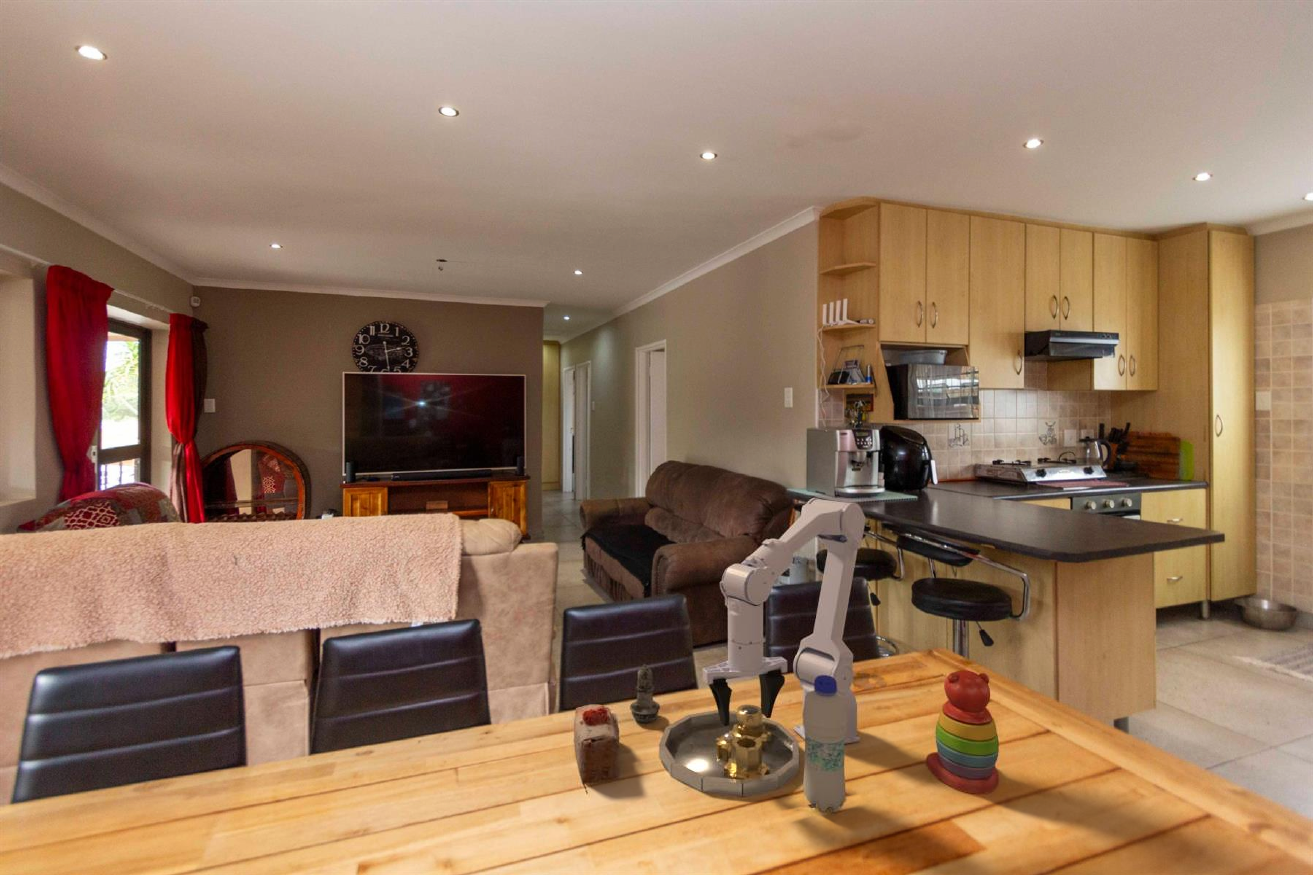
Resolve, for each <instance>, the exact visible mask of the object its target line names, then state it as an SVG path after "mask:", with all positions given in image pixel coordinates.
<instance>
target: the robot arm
mask: <svg viewBox="0 0 1313 875" xmlns="http://www.w3.org/2000/svg"><path fill="white" fill-rule="evenodd" d="M865 526H866V516H865V514H864V512H863V509H862V508H861V506H860V505H859V503H856V502H843V501H837V500H836V501H835V500H828V499H827V500H826V499H820V498H818V497H813V498H810V499H809V500H808V501H807V503H806V504H804V505H802V507H801V512H800V516H798V518H797V519H796V520H795V521H794V522H793V524H792V525H790V527H789V528H788V529H787V530H786V531H785V532H784V533H783V534H782V535H781V536H780V537H779V538H778V539H777V538H770V539H768V538H766V539H765V540H763V542H762V545H760V546H759V547H758V548H757V549H756V550H755V551H753V553H751V554H750V555H748V556H747V557H746V558H745V559H744V560H743V561H742V562H741V563H734V564H731V565H730V566H728V567H727V568H725V570H724V572H723V574H722V578H721V581H720V582H719V589H720V591H721V593H722V595H723V597H724V605H725V607H726V608H727V660H726V661H724V662H723V661H722V662H720V663H717V664H714V665H711V666H708V667H703V668H702V681H703V682H704V683H706V685H708V687H709V689H710V691H711V693H712V696H713V698H714V701H715V703H716V708H717V710H718V712H719V717H720V721H721V722H722V724H723V725H724V726H729V721H730V716H729V711H730V704H731V697H732V692H733V689H732V688H731V687H729V684H728V683H729V682H727V680H732V679H733V680H734V679H739V678H746V677H747V678H748V677H749V678H750V677H756V676H757V677H758V679H759V685H760V686H759V687H760V708H761V712H762V714H763V717H764V718H766V719H771V718H772V714H773V710H774V706H775V703H776V699H777V697H778V695H779V693H780V691H781V689H782V688H783V686H784V685H785V682H786V677H785V675H784V674H782V673H788V660H787V659H786V658H784V657H782V656H776V657H775V656H774V657H764V602H766V601H767V600H768V598H769V596H770V594H771V591H772V589H773V587H774V586H775V583H776V582H775V581H776V580H777V579H779V577H780V576H782V574H784V572H786V571H787V570H788V569H789V568H790V567H791V566H792V564H793V563H794V562H793V561H794V556H793V555H794V554H795V553H797V552H798V551H800V550H801V549H802V548H803V547H805V546H806V545H808V543H810V542H811V541H812V540H813V539H815V538H817V540H818V541H819V542H820V543H822V544H823V546H824V547H825V549H826V551H827V556H826V559H825V565H824V571H823V576H822V577H823V578H822V582H821V587H820V588H821V590H820V592H819V593H820V594H819V599H818V603H817V604H818V605H817V609H816V618H815V622H814V626H813V633H812V634H810V635H808V636H806V637H804V638H803V639H801V640H800V645H799V647H798V650H797V652H796V653H797V654H795V657H794V659H793V664H792V668H793V674H794V677H795V678H796V679H797V680H798V681H799V686H800V687H801V688H802V710H803V709H804V702H805V696H806V694H807V693H808V692H810V691H813V690H814V681H815V678H816V677H817V676H820V675H828V676H831V677H833V678H834V679H835V680H836V683H837V693H838V694H840V695H841V696H842V697H843V698H844V700H845V707H846V715H847V720H848V721H847V725H846V726H847V730H846V732H845V734H844V735H845V744H844V745H847V744H852V743H857V742H860V737H859V736H858V702H857V698H856V695H855V693H854V692H853V690H852V688H851V686H852V684H853V681H854V669H853V668H854V667H853V663H854V662H853V661H854V654H853V652H852V651H851V650H850V649H849V647H848V646H847V644H845V642H844V641H843V636H844V631H845V630H844V629H845V625H846V624H845V623H846V619H847V612H848V606H849V601H850V600H849V599H850V596H851V595H850V594H851V589H852V582H853V578H854V571H855V566H856V560H857V556H858V555H857V554H858V550H860V549H861V548H862V543H863V542H862V541H863V536H864V532H865ZM793 730H794V731H795V733H797V734H798V735H799V736H800V737H801V738H802V739H803V740H805V728H804V726H803V724H801V725H796V726H795V725H794V726H793Z"/></svg>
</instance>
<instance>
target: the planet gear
mask: <svg viewBox="0 0 1313 875" xmlns="http://www.w3.org/2000/svg"><path fill="white" fill-rule="evenodd" d="M769 774H770V768H769V767H767V766H766V765H765V764H764V761H763V760H762V743H761V742H760V741H759V740H758V739H757V738H755V737H751V736H747V735H744V736H739V737H735V738H734V739H733V741H732V742H731V758H729V759H728V763H727V764H726V765H724V775H726V776H727V777H728V779H736V780H744V779H749V778H754V777H759V776H764V775H769Z"/></svg>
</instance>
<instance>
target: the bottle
mask: <svg viewBox="0 0 1313 875" xmlns="http://www.w3.org/2000/svg"><path fill="white" fill-rule="evenodd" d="M847 721H848V720H847V715H846V707H845V700H844V698H843V697H842V696H841V695H840V694H838V693H837V683H836V680H835V679H834V678H833V677H831V676H828V675H820V676H817V677H816V678H815V681H814V690H813V691H810V692H808V693H807V694H806V696H805V702H804V709H803V708H802V725H803V726H804V728H805V739H804V771H803V785H802V786H803V788H802V789H803V794H804V795H805V798H806V800H807V802H808V803H809V806H810V808H812V809H816V807H817V806H818V808H819V810H820V812H821V813H826V811H827V809H828V808H830V811H831V812H832V813H836V812H837V811H839V809H840V808H841V807H843V805H844V803H845V801H846V776H845V774H846V773H845V745H846V744H845V735H844V734H845V732H846V730H847V726H846V725H847Z"/></svg>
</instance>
